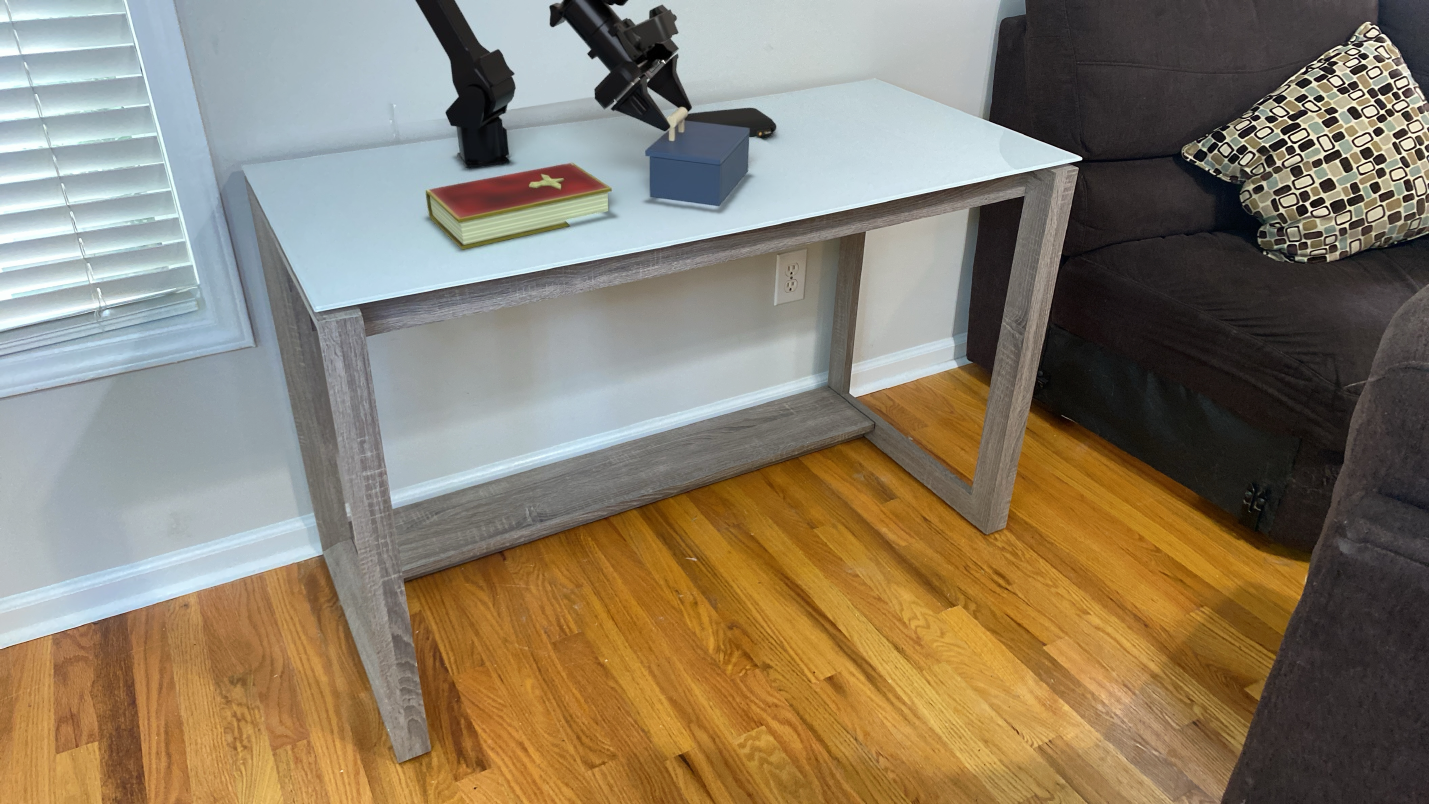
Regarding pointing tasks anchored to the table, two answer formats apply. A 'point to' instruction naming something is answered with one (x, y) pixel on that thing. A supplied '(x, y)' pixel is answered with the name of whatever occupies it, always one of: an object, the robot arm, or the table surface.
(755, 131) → the carrying case
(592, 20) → the robot arm
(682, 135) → the lunchbox lid
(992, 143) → the table surface
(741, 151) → the box
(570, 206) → the hardcover book
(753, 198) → the table surface
